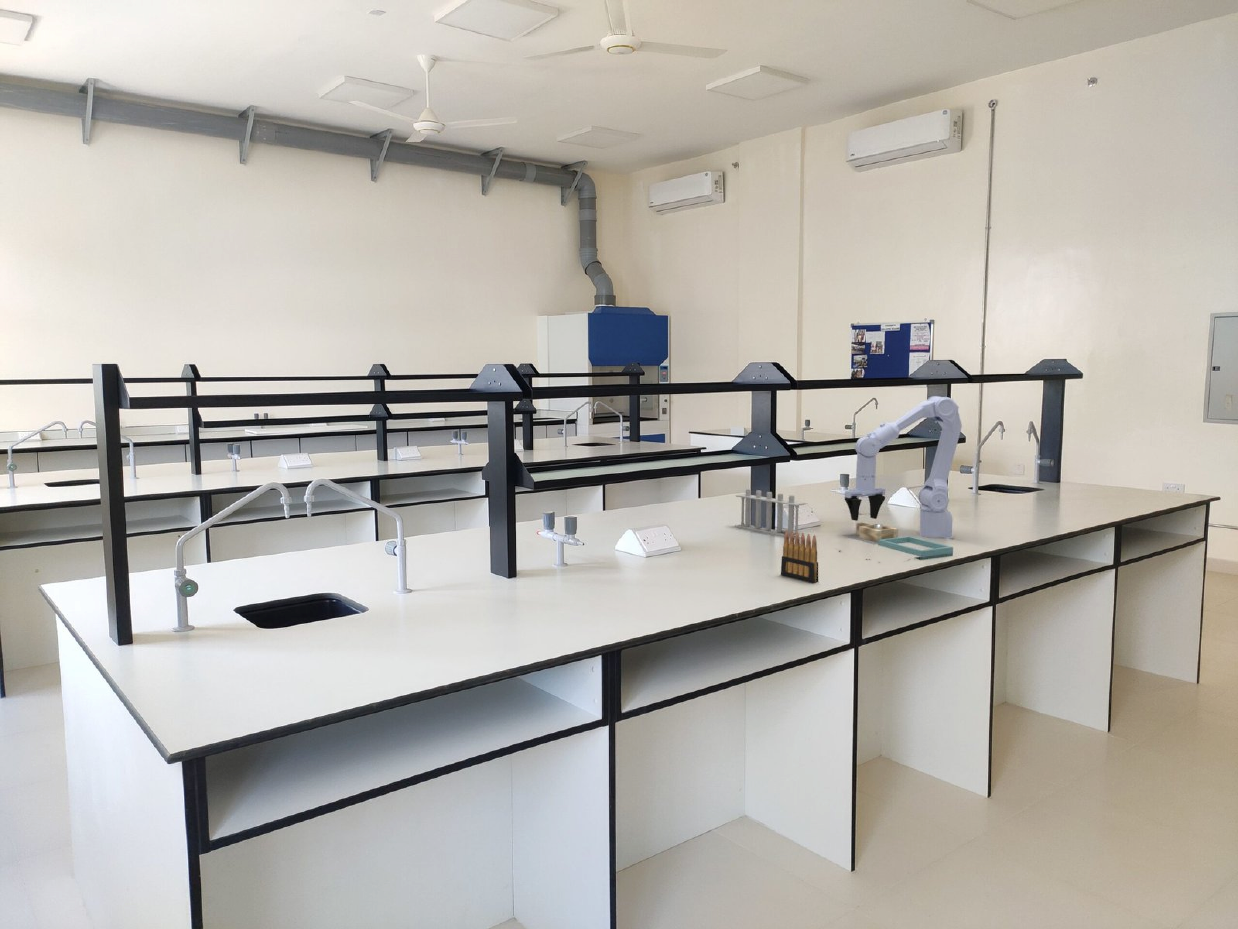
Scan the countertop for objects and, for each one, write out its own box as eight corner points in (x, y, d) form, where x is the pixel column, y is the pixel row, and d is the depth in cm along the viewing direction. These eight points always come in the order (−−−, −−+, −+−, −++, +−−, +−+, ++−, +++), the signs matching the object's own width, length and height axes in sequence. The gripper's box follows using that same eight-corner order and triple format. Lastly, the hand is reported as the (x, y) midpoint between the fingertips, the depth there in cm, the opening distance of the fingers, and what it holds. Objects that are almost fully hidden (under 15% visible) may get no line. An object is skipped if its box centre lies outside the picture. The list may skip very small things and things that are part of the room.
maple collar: (897, 540, 256) (897, 528, 256) (877, 542, 253) (877, 531, 252) (868, 532, 267) (869, 521, 267) (848, 535, 264) (849, 523, 263)
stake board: (907, 543, 256) (907, 526, 255) (874, 547, 250) (874, 529, 250) (874, 535, 268) (875, 518, 268) (842, 538, 263) (843, 521, 262)
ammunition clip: (780, 575, 218) (781, 529, 217) (785, 574, 219) (786, 528, 218) (813, 583, 210) (815, 536, 208) (818, 582, 211) (819, 535, 210)
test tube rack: (804, 537, 265) (805, 496, 264) (795, 539, 262) (796, 497, 261) (743, 526, 284) (744, 487, 283) (734, 528, 281) (735, 488, 280)
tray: (908, 544, 255) (908, 536, 254) (952, 555, 240) (953, 547, 239) (877, 548, 250) (878, 539, 249) (921, 560, 234) (921, 551, 234)
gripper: (874, 473, 268) (873, 515, 270) (838, 475, 262) (837, 518, 263) (890, 475, 262) (888, 519, 263) (854, 478, 255) (852, 522, 257)
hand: (864, 519), depth 263 cm, fingers open, 7 cm apart
